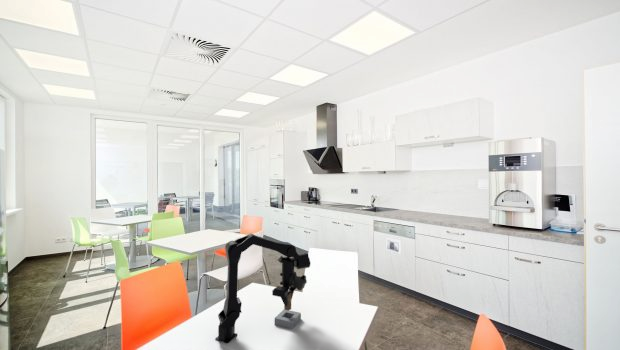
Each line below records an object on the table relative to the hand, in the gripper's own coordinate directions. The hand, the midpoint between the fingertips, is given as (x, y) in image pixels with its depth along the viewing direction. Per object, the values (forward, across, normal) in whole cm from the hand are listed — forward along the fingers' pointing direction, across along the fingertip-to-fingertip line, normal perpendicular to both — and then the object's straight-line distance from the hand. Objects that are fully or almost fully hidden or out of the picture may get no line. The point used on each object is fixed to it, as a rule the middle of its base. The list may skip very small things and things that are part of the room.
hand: (287, 304), depth 127 cm
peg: (+2, 0, 0) cm, 2 cm away
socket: (+8, 0, 0) cm, 8 cm away
